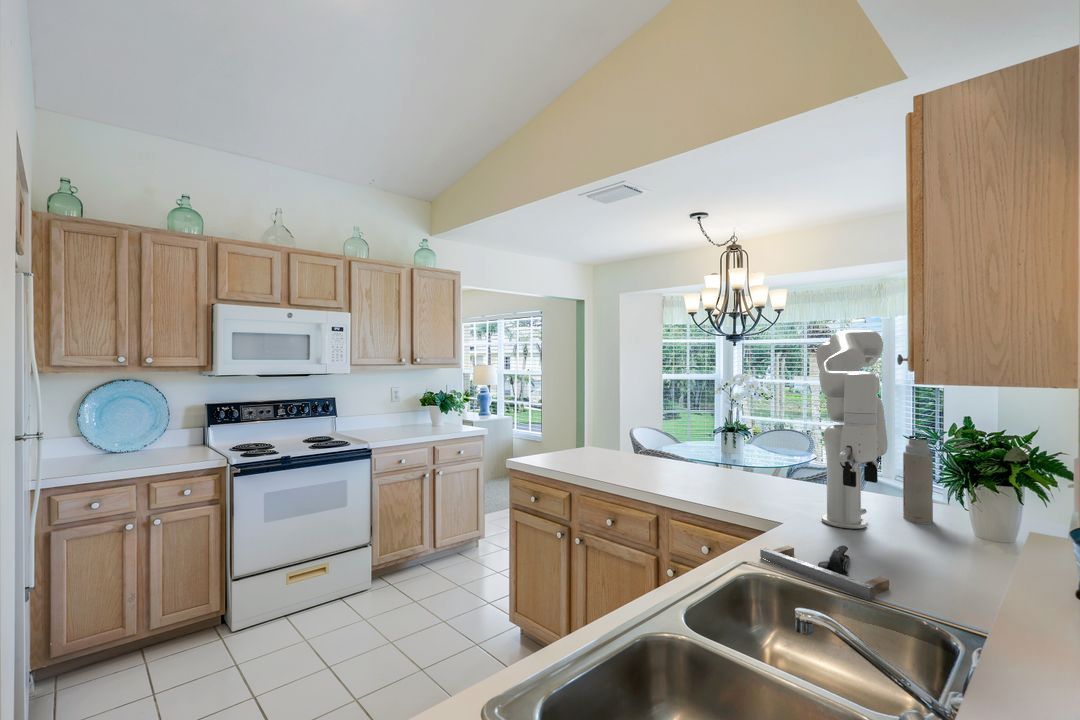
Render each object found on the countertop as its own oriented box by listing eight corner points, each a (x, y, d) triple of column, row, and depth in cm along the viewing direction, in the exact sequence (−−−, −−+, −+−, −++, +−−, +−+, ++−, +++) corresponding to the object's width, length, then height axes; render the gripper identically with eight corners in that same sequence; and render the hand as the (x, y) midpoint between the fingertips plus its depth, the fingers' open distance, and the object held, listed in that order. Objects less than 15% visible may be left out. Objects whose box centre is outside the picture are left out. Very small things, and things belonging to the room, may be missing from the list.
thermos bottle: (899, 520, 176) (899, 435, 176) (907, 515, 181) (907, 433, 181) (928, 525, 170) (928, 438, 170) (936, 521, 175) (935, 436, 175)
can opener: (846, 583, 127) (845, 559, 127) (814, 575, 132) (814, 552, 132) (861, 561, 141) (861, 540, 141) (831, 555, 145) (831, 534, 145)
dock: (784, 553, 146) (784, 542, 146) (893, 591, 122) (893, 578, 122) (760, 560, 141) (760, 549, 141) (869, 601, 117) (869, 588, 117)
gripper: (864, 416, 148) (864, 477, 148) (826, 419, 140) (827, 484, 140) (893, 418, 142) (893, 483, 142) (855, 422, 133) (855, 490, 133)
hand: (860, 483), depth 141 cm, fingers open, 9 cm apart
